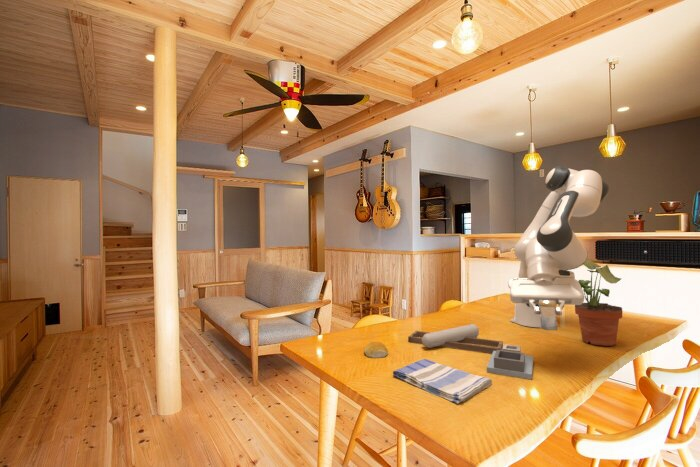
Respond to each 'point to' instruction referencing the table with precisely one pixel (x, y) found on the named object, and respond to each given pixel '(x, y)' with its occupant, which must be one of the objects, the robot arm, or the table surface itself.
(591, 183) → the robot arm
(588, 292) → the potted plant
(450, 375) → the dish towel
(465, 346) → the tube tray
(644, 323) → the table surface
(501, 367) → the plate
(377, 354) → the bread roll
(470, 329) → the tube
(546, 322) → the clear cylindrical piece
